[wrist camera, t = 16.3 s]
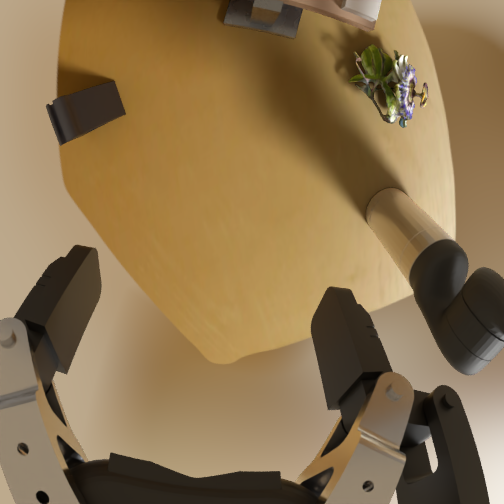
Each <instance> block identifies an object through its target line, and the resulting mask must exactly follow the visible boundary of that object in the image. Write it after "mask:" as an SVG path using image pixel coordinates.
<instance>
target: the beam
mask: <svg viewBox="0 0 504 504" xmlns="http://www.w3.org/2000/svg"><path fill="white" fill-rule="evenodd" d="M279 1H283V3H284V4H288V5H292V6H296V7H299V8H303V9H306V10H310V11H313V12H316V13H319V14H322V15H325V16H328V17H331V18H334V19H337V20H339V21H342V22H345V23H347V24H350V25H352V26H355V27H357V28H360V29H362V30H364V31H367V32H368V31H371V30H374V27H375V23H376V20H377V18H378V13H379V9H380V5H381V0H279Z"/></svg>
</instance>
